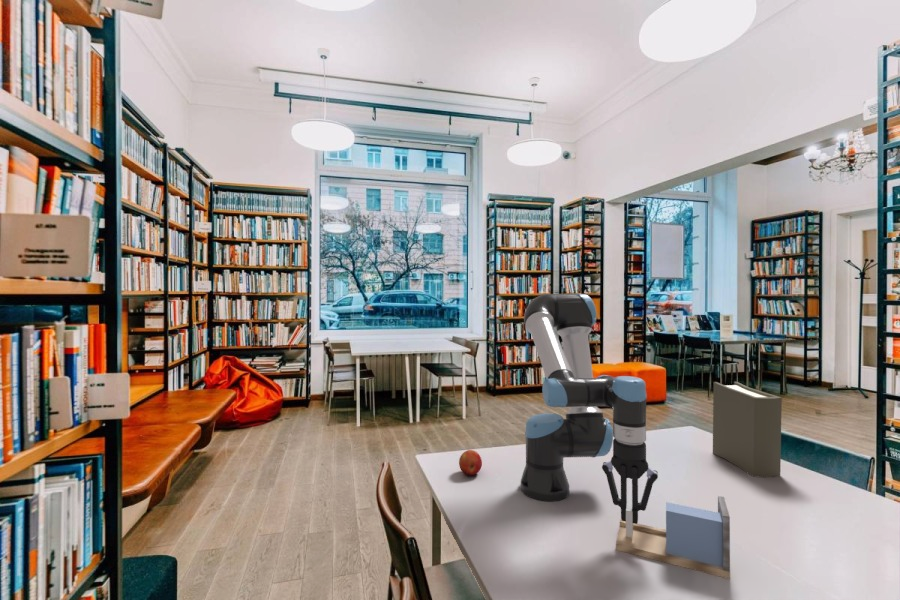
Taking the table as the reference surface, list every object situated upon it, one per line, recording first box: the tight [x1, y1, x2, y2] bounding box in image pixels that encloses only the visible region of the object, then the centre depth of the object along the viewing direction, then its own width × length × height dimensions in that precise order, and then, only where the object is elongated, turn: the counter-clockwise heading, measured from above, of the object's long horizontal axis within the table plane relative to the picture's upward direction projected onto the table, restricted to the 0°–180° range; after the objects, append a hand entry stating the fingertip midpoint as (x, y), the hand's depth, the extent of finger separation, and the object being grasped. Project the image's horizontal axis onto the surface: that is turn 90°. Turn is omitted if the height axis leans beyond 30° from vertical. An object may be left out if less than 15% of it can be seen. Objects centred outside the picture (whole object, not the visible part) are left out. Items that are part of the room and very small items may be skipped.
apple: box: [458, 449, 483, 477], centre depth 143 cm, size 8×8×8 cm
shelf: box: [615, 495, 731, 580], centre depth 99 cm, size 23×10×14 cm, turn 62°
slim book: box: [665, 501, 723, 568], centre depth 95 cm, size 11×4×10 cm, turn 62°
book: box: [712, 381, 783, 478], centre depth 149 cm, size 22×9×28 cm, turn 2°
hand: (629, 534), depth 102 cm, fingers closed
